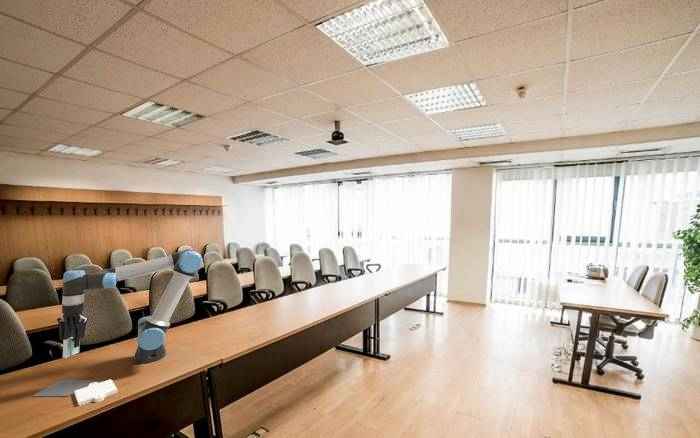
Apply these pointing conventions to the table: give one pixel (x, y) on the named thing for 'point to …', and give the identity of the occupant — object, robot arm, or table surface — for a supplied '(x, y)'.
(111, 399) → the table surface
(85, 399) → the mounting plate
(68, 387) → the mat
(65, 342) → the tile
